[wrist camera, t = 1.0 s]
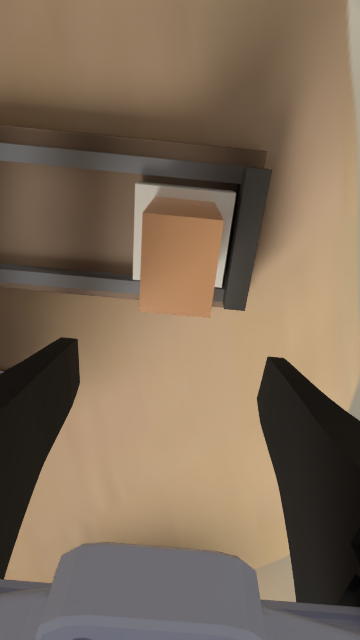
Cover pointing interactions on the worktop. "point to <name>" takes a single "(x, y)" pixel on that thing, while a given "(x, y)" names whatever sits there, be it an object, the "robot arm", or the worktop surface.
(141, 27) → the worktop surface
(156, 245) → the block
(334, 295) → the worktop surface
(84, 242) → the rail board
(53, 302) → the worktop surface
